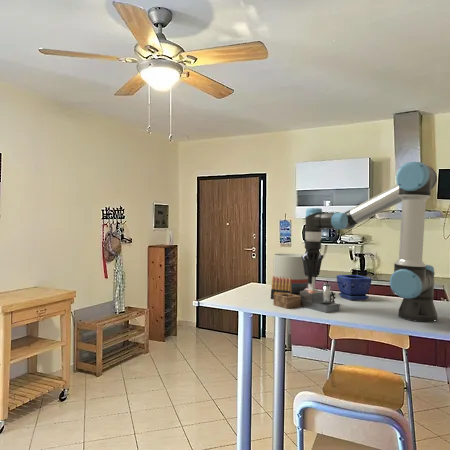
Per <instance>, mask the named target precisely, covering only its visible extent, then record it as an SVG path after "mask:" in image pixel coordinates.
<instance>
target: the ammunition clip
mask: <svg viewBox="0 0 450 450" xmlns="http://www.w3.org/2000/svg"><path fill="white" fill-rule="evenodd" d="M281 286H282V288H281ZM283 293H290V294H292V291H291V278H289V285H288V278H287V277H286V281H285V282H284V276H283V278H282V285H281V277H279V284H278V277H277V276H276V281H275V279H274V275H272V279H271V290H270V300H274V294H283Z"/></svg>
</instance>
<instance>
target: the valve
mask: <svg viewBox="0 0 450 450" xmlns="http://www.w3.org/2000/svg"><path fill="white" fill-rule="evenodd" d="M315 291H318V289H317V288H315ZM335 295H336V292H334V291H330V302H332V303H336V301H335V299H336V298H337V297H336V296H335Z"/></svg>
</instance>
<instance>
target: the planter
mask: <svg viewBox="0 0 450 450" xmlns="http://www.w3.org/2000/svg"><path fill="white" fill-rule="evenodd" d="M304 255H305V253H304V254H302V253H283V252H282V253H274V254H273V276H274V279H275V281H276V276H277V277H278V284H279V277H281V285H282V278H283V276H284V282H285V281H286V277H287V278H288V285H289V278H291V291H292V294H294V295H298V294H300V291H305V290H307V288H308V276H306V275H305V273H304V266H303V260H302V258H301V256H304ZM281 288H282V286H281Z"/></svg>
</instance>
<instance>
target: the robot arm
mask: <svg viewBox="0 0 450 450" xmlns="http://www.w3.org/2000/svg"><path fill="white" fill-rule="evenodd" d="M395 182H396V185H394V186H391V187H390V188H388V189H386V190H384V191H382V192H381V193H379V194H376V195H375V196H373V197H371V198H369V199H368V200H366V201H364V202H362V203H360V204H359V205H356V206H355V207H353V208H350V209H349V210H346V211H344V212H339V211H338V212H323V209H322V208H320V207H308V208H306V209H305V217H304V218H305V231H304V232H305V233H304V235H305V236H304V240H305V241H304V249H305V253H304V254H305V255H304V256H301V258H302V260H303V266H304V273H305V275H306V276H308V286H307V288H308V289H307V290H310V291H315V289H316V288H315V287H316V281H317V280H316V278H318V276H319V275H320V273H321V267H322V262H323V259H324V255H323V254H321V252H320V250H321V249H322V242H321V241H322V229H323V230H324V229H326V230H327V229H328V230H350V229H353V228H354V227H355V226H356V225H358V224H360V223H362V222H364V221H366V220H368V219H370V218H372V217H373V216H376V215H377V214H380V213H382V212H384V211H386V210H387V209H390V208H392V207H394V206H396V205H398V204H400V203H401V217H400V229H399V230H400V233H399V235H400V236H399V250H398V258H397V260H396V261H395V262H394V263H393V266H394V268H393V273H392V274H391V276H390V278H389V286H390V289H391V291H392V292H393V293H394V295H396V296H398V297H400V298H402V300H401V303H400V306H399V308H398V312H397V314H398V317H399V318H401V319H404V318H405V319H404V320H407V319H409V320H408V321H413V320H416V321H415V322H420V321H434V320H437V321H438V312H437V310H436V309H437V308H436V306H435V303H434V302H435V301H434V291H435V288H434V285H435V284H434V283H435V273H436V272H435V268H434V266H433V265H431V264H426V263H425V262H423V251H424V239H425V238H424V237H425V235H424V234H425V221H426V204H427V203H426V202H427V200H428V199H430V198H431V195H432V194H431V191H432V190H433V189H434V188H435V186H436V184H437V182H438V174H437V172H436V170H435V169H434V168H432V167H431V166H429V165H427V164H425V163H424V162H420V161H409V162H406V163H405V164H403V165H401V167H399V169H398V170H397V172H396V176H395ZM434 322H435V321H434Z"/></svg>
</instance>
